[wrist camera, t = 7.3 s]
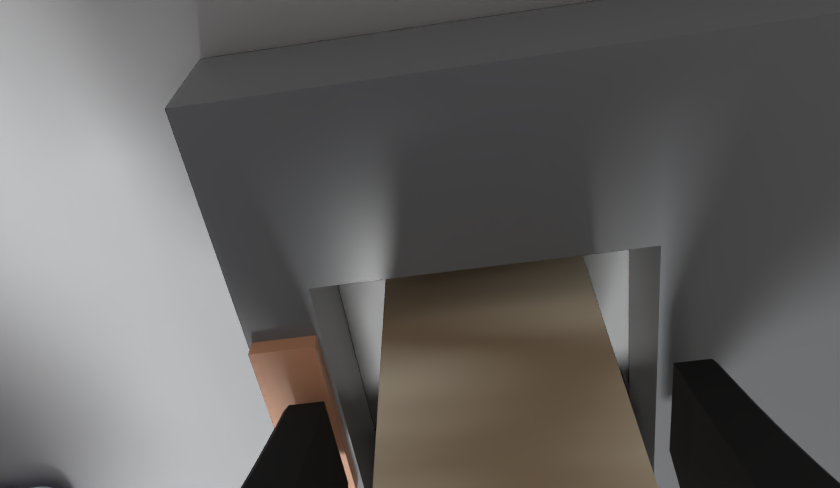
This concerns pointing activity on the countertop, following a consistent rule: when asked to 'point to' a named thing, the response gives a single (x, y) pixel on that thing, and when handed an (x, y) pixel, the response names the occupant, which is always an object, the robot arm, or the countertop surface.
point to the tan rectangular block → (503, 383)
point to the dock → (540, 190)
